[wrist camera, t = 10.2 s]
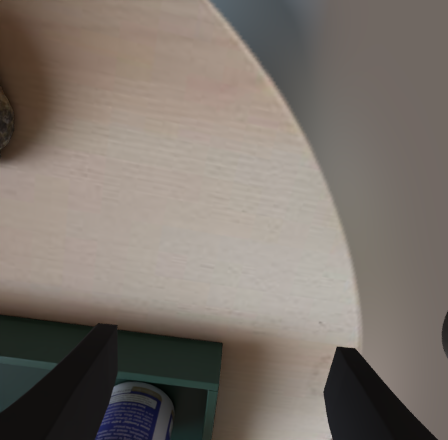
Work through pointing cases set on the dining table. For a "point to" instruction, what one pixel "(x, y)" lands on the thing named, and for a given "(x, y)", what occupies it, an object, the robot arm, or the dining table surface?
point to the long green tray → (127, 367)
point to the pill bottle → (137, 414)
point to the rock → (5, 120)
